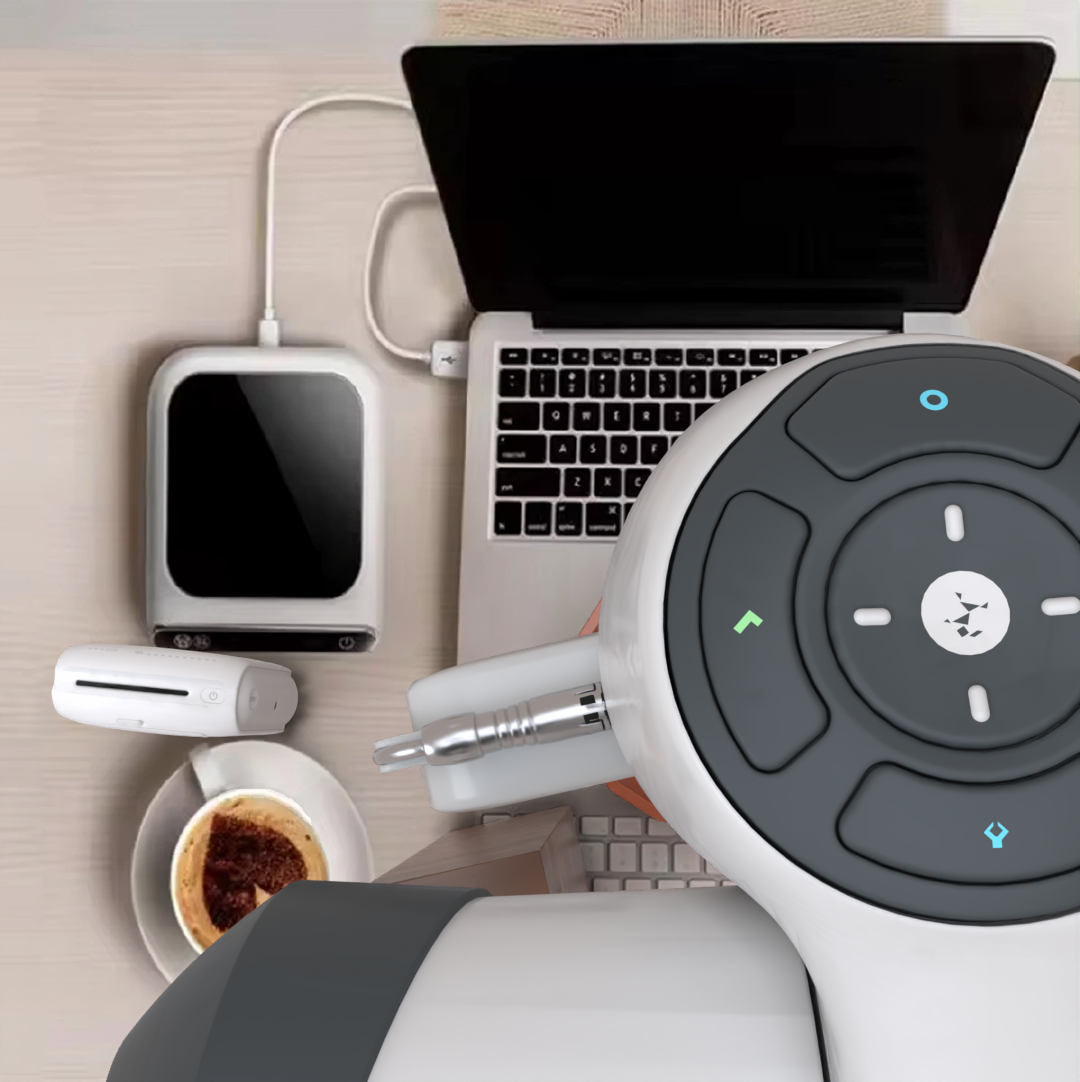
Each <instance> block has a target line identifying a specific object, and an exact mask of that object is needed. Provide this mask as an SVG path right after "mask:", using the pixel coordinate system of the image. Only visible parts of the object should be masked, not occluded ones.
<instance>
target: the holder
mask: <svg viewBox="0 0 1080 1082" xmlns="http://www.w3.org/2000/svg"><path fill="white" fill-rule="evenodd" d="M370 883H385V884H407V885H428V886H450V887H471V888H482V889H487V890H488V891H489V892H490V893H491V894H492V895H493V896H515V895H538V894H560V893H582V892H591V888H590V884H589V879H588V876H587V870H586V867H585V862H584V857H583V853H582V849H581V844H580V839H579V836H578V831H577V827H576V822H575V817H574V813H573V809H572V805H571V804H566V805H561V806H557V807H552V808H548V809H544V810H538V811H535V812H531V813H526V814H522V815H517V816H513V817H508V818H504V819H500V820H494V821H491V822H487V823H482V824H478V825H477V824H476V825H473V826H469V827H463V828H460V829H455V830H451V831H448V832H446V833H445V834H443V835H442V836H441V837H439V838H438V839H437V838H436V840H434V841H433V842H431V843H429V844H428V845H426V846H425V847H424V848H422V849H420V850H419V851H417V852H415V853H414V854H413V855H411V856H409V857H408V858H407V859H405V860H403V861H402V862H400V863H399V864H397V865H396V866H394V867H393V868H391V869H390V870H388V871H387V872H385V873H383V874H381V875H380V876H379V877H377V878H376V879H373V880H372V881H371V882H370Z"/></svg>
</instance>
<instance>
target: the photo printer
mask: <svg viewBox="0 0 1080 1082" xmlns="http://www.w3.org/2000/svg"><path fill="white" fill-rule="evenodd" d="M292 672H293V671H292V670H291V669H290V668H288V667H286V666H283V665H281V664H277V663H274V662H270V661H264V660H259V659H254V658H248V657H241V656H235V655H229V654H220V653H213V652H204V651H197V650H196V651H195V650H187V649H179V648H171V647H170V648H168V647H158V646H148V645H135V644H120V643H104V642H101V643H100V642H93V643H82V644H76V645H71V646H69V647H67V648H65V649H64V650H63V652H62V653H61V654H60V656H59V657H58V660H57V661H56V665H55V668H54V680H53V686H52V688H51V692H50V693H51V699H52V700H51V701H52V703H53V706H54V709H55V711H56V712H57V714H58V715H59V716H61V717H64V718H66V719H67V720H71V721H73V722H76V723H79V724H83V725H86V726H93V727H99V728H106V729H113V730H121V731H128V732H129V731H130V732H136V733H146V734H155V735H156V734H158V735H167V736H168V735H169V736H178V737H179V736H180V737H193V738H196V737H198V738H221V737H222V738H223V737H239V736H240V737H241V736H262V735H263V736H265V735H275V734H276V735H277V734H281V733H284V731H285V727H286V725H287V724H288V723H289V722H290V721H291V720H292V718H293V717H294V715H295V713H296V710H297V708H298V703H299V690H298V687H297V685H296V682H295V680H294V678H293V677H292Z"/></svg>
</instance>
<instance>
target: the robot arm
mask: <svg viewBox="0 0 1080 1082" xmlns="http://www.w3.org/2000/svg"><path fill="white" fill-rule="evenodd" d="M608 564H609V565H608V568H607V571H606V575H605V580H604V584H603V589H602V596H601V598H602V603H601V610H600V617H599V632H596V633H591V634H587V635H583V636H578V635H577V636H575V637H570V638H566V639H562V640H557V641H553V642H547V643H544V644H539V645H534V646H530V647H527V648H522V649H518V650H514V651H509V652H505V653H500V654H496V655H492V656H487V657H484V658H479V659H475V660H472V661H468V662H464V663H461V664H457V665H454V666H451V667H447V668H443V669H441V670H438V671H436V672H433V673H430V674H428V675H426V676H425V675H424V676H423V677H421V678H418V679H416V680H414V681H413V682H412V683H411V684H410V685H408V687H407V690H406V693H405V699H406V704H407V709H408V714H409V719H410V724H411V729H412V732H409V733H404V734H400V735H395V736H391V737H386V738H382V739H379V740H376V741H374V742H373V747H374V752H373V754H372V761H373V762H374V764H375V765H377V766H378V771H379V773H381V774H382V775H384V774H389V773H393V772H397V771H402V770H406V769H410V768H414V767H419V768H420V773H421V777H422V780H423V785H424V790H425V794H426V798H427V802H428V804H429V806H430V807H431V809H432V810H434V811H435V812H438V813H441V814H451V813H466V812H467V813H468V812H476V811H483V810H489V809H494V808H499V807H505V806H509V805H514V804H518V803H522V802H523V803H524V802H526V801H531V800H535V799H541V798H544V797H549V796H553V795H558V794H563V793H567V792H571V791H575V790H580V789H584V788H590V787H593V786H598V785H603V784H605V783H607V782H611V781H616V780H620V779H625V778H629V777H634V776H635V778H636V780H637V781H638V783H639V785H640V786H641V788H642V789H643V791H644V792H645V793H646V795H647V796H648V798H649V799H650V800H651V802H652V803H653V805H654V806H655V807H656V809H657V810H658V811H659V813H660V814H661V815H662V816H663V818H664V819H665V820H666V821H667V822H668V823H667V824H668V825H669V826H670V827H671V829H673V830H674V832H675V833H676V834H677V835H678V836H679V837H680V838H681V839H682V840H683V841H684V842H685V843H686V844H688V846H689V847H690V848H691V849H692V850H694V851H695V852H696V853H697V855H699V856H700V857H701V858H703V859H704V860H705V861H706V862H707V863H709V864H710V865H711V866H712V867H713V868H715V869H716V870H717V871H718V872H720V874H722V875H723V876H724V877H726V878H727V879H728V880H729V881H731V882H732V883H734V885H716V886H697V887H696V886H692V887H672V888H650V889H649V888H648V889H628V890H626V889H625V890H606V891H590V892H582V893H560V894H538V895H515V896H493V895H492V894H491V893H490V892H489V891H488V890H487V889H482V888H471V887H450V886H428V885H407V884H385V883H371V882H363V881H362V882H360V881H340V880H339V881H338V880H320V879H319V880H317V879H314V880H313V879H300V880H295V881H293V882H290V883H289V884H287V885H285V886H284V887H283V888H281V889H280V890H278V891H277V892H276V893H274V894H273V895H271V897H269V898H267V899H266V900H265V901H263V902H262V903H261V904H259V905H258V906H257V907H256V908H254V909H253V910H252V911H250V912H249V913H248V914H246V915H245V916H244V917H243V918H241V919H240V920H239V921H238V922H236V923H235V924H234V925H232V927H231V928H229V929H228V930H227V931H225V932H224V933H223V934H222V935H221V936H220V937H218V938H217V939H216V940H215V941H214V942H213V943H212V944H211V945H210V946H208V947H207V948H206V949H205V950H204V951H203V952H202V953H201V954H199V955H198V956H197V957H196V958H195V960H193V961H192V962H191V963H190V964H189V965H188V966H187V967H186V968H185V969H184V970H183V971H182V972H181V973H180V974H179V975H178V976H177V977H176V978H175V979H174V980H173V981H172V982H171V984H169V985H168V986H167V988H165V990H164V991H162V993H161V994H160V995H159V996H158V997H157V998H156V1000H155V1001H154V1002H153V1003H152V1004H151V1005H150V1007H149V1008H148V1009H147V1010H146V1011H145V1012H144V1014H143V1015H142V1016H141V1017H140V1018H139V1020H138V1021H137V1022H136V1024H135V1025H134V1026H133V1027H132V1028H131V1030H129V1032H128V1033H127V1034H126V1036H125V1037H124V1039H123V1040H122V1042H121V1043H120V1045H119V1047H118V1049H117V1051H116V1053H115V1056H114V1058H113V1060H112V1062H111V1066H110V1068H109V1070H108V1074H107V1076H106V1080H105V1082H1080V371H1079V370H1077V369H1075V368H1073V367H1071V366H1068V365H1066V364H1064V363H1062V362H1060V361H1058V360H1055V359H1053V358H1050V357H1047V356H1044V355H1042V354H1039V353H1037V352H1034V351H1031V350H1029V349H1025V348H1020V347H1017V346H1013V345H1010V344H1005V343H1002V342H998V341H993V340H988V339H987V340H986V339H981V338H975V337H970V336H964V335H958V334H957V335H955V334H947V333H946V334H944V333H933V332H917V333H916V332H913V333H912V332H911V333H891V334H884V335H883V334H882V335H877V336H871V337H864V338H858V339H853V340H849V341H845V342H841V343H839V344H836V345H833V346H828V347H825V348H821V349H819V350H815V351H813V352H811V353H810V352H809V354H805V355H802V356H801V357H799V358H796V359H793V360H791V361H789V362H786V363H784V364H781V365H779V366H777V367H775V368H773V369H771V370H768V371H766V372H765V373H762V374H761V375H758V376H756V377H755V378H753V379H751V380H749V381H748V382H746V383H744V384H743V385H741V386H739V387H737V388H736V389H734V390H733V391H731V392H729V393H728V394H727V395H725V396H724V397H722V398H721V399H720V400H718V401H716V403H714V404H713V405H712V406H710V407H709V408H708V409H707V410H706V411H704V412H703V413H702V414H701V415H700V416H698V417H697V418H696V419H695V420H694V421H693V422H692V423H691V424H690V425H689V426H688V427H687V428H686V429H685V430H684V431H683V432H682V433H681V434H680V435H679V436H678V437H677V438H676V439H675V441H674V442H673V444H672V445H671V446H670V448H669V449H668V450H667V451H666V453H665V454H664V455H663V457H662V458H661V459H660V461H659V462H658V463H657V465H656V467H655V468H654V469H653V471H652V472H651V473H650V475H649V476H648V478H647V480H646V481H645V483H644V484H643V486H642V488H641V490H640V491H639V493H638V495H637V497H636V499H635V501H634V502H633V504H632V506H631V507H630V510H629V512H628V514H627V516H626V519H625V521H624V523H623V526H622V528H621V530H620V532H619V535H618V537H617V540H616V543H615V545H614V548H613V551H612V554H611V558H610V561H609V563H608Z"/></svg>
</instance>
